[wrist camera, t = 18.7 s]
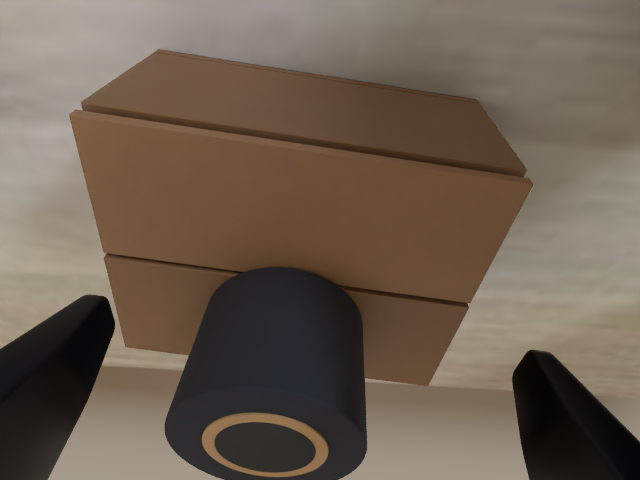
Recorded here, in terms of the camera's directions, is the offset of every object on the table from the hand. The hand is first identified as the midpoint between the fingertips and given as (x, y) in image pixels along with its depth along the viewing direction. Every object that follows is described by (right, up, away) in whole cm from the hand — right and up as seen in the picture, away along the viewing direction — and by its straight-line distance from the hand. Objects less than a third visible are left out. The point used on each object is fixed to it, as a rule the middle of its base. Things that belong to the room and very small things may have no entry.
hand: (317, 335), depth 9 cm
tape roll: (-1, -1, +8) cm, 8 cm away
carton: (-1, +5, +12) cm, 13 cm away
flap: (-1, +3, +5) cm, 6 cm away
